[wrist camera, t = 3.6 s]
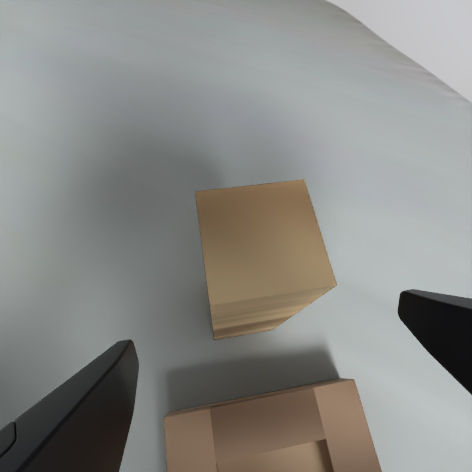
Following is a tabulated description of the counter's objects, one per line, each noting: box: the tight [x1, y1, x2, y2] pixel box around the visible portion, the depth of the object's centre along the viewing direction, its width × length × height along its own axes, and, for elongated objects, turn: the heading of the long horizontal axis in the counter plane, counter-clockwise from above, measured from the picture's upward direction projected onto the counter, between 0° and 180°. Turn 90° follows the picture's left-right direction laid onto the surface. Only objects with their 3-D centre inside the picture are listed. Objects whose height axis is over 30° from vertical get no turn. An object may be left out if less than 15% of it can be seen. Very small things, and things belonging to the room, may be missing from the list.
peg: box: [195, 180, 337, 340], centre depth 15 cm, size 4×4×12 cm
